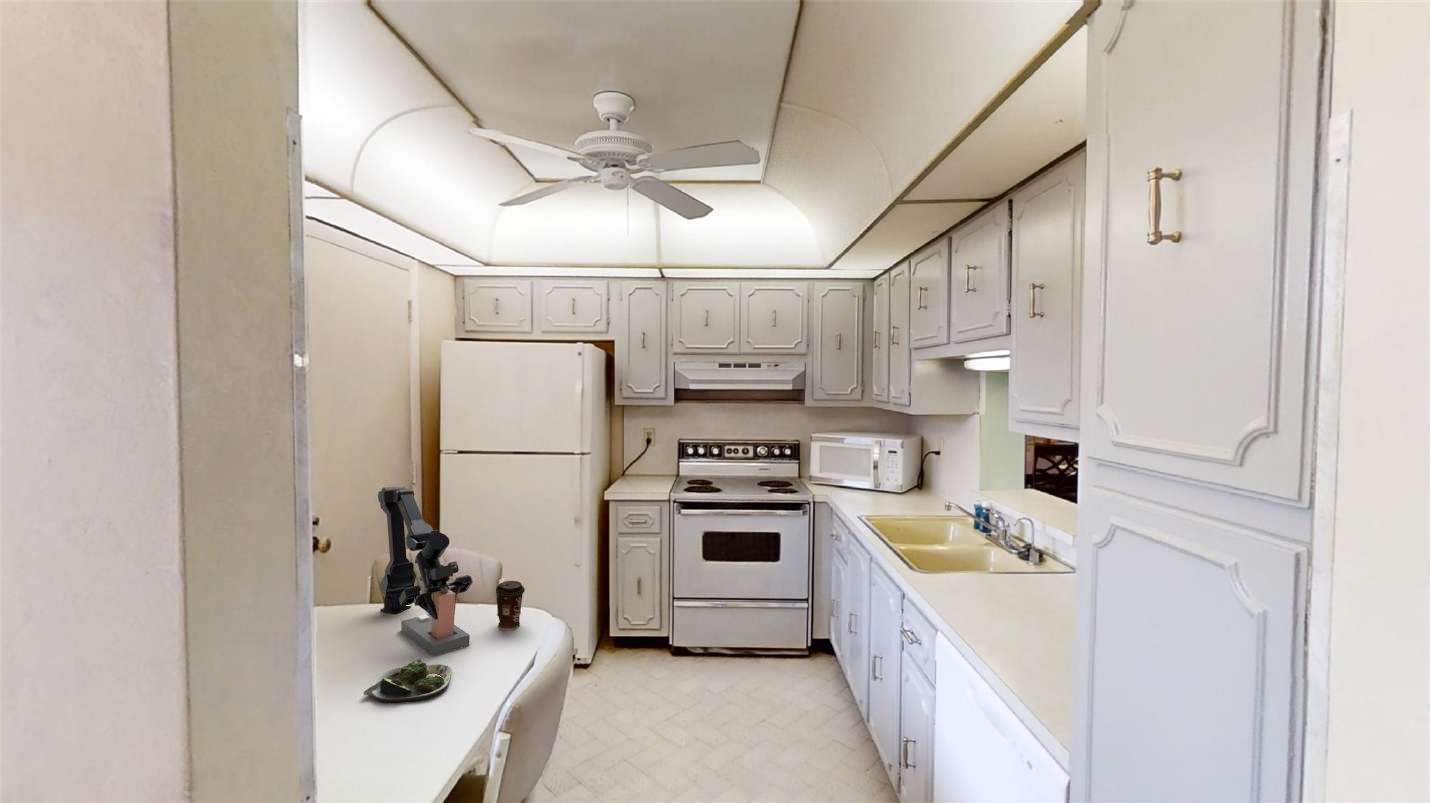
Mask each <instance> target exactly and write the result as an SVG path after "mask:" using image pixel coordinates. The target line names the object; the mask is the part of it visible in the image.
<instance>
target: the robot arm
mask: <svg viewBox="0 0 1430 803" xmlns="http://www.w3.org/2000/svg"><path fill="white" fill-rule="evenodd" d="M377 498H378V499H377V500H378V502H379V504H380V509H381V510H382V511H383V512H384V513H385V515H386V523H387V534H388V535H387V536H388V551H389V562H388V563H387V565H386V567H385V570H384V575H383V578H382V579H381V581H380V583H379V592H381V594H383V595H384V598H383V599H384V600H383V607H382V608H380V611H381V612H383V613H384V612H385V613H392V614H399V613H401V612H404V611H405V610H408V609H410V608H412V605H413V603H414V606H415V607H416V606H418V607H420V608H421V609H422V610H424V611H425V612H426V613H427V615H428V614H429V615H431V616H432V617H433V618H434V619H435V620H437V618H438V617H437V612H436V609H435V607H434V604H433V601H432V599H433V592H438V591H441V587H448V589H449V590H451V591H452V592H454V593H455V605H456V603H457V596H458V594H463V593H465V592H467V591H468V590H469V588H470V587H471V586H472V584H473V583H474V581H473V578H472V576H471V575H469V574H467V575H461V576H457V577H456V578H455V579H454V581H453V582H449V581H450V577H454V574H456V573H459V564H458V562H457V561H456V560H454V561H451V562H448V564H447V565H443V564H442V563H441V562H440V558H442V557H443V555H444V554H445V553H446V552H445V551H447V549H448V547H449V545H450V538H449V537H448V536H447V535H446V534H445V533H442V532H440V530H439V529H435V530H434V529H433V527H432V525H430V524H428V523H427V522H425V520H424V518H423V515H422V513H421V511H420V509H419V508H420V507H419V506H418V504H417V501H416V499H415V491H414V490H413V489H412V488H406V486H405V485H398V486H385V487H382V489H381V490H379V491H378V493H377ZM405 526H406V529H407V534H406V533H405V532H406V531H405V530H406V529H405ZM407 549H409V551H411V552H417V551H419V552H417V554H416V556H415V559H414V562H413V561H410V560H409V559H408V557H407ZM414 564H416V565H417V567H418V568H417V569H418V572H419V575H420V577H419V581H420V582H422V584H423V587H422V588H421V586H420V585H415V584H416V578H417V574H416V572H415V566H414ZM448 582H449V583H448ZM414 601H415V602H414ZM406 605H411V606H406ZM454 615H456V612H455V613H454Z"/></svg>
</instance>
